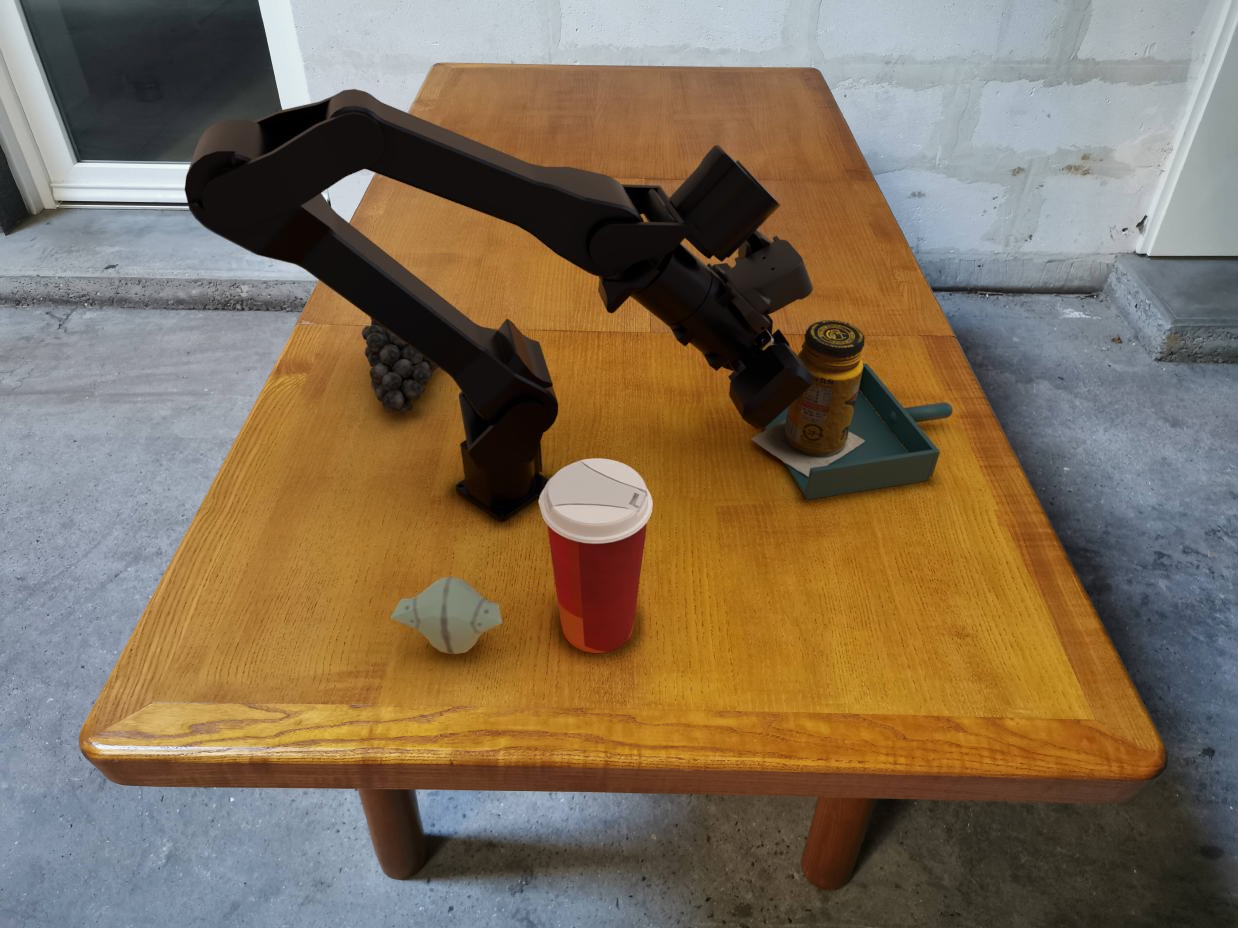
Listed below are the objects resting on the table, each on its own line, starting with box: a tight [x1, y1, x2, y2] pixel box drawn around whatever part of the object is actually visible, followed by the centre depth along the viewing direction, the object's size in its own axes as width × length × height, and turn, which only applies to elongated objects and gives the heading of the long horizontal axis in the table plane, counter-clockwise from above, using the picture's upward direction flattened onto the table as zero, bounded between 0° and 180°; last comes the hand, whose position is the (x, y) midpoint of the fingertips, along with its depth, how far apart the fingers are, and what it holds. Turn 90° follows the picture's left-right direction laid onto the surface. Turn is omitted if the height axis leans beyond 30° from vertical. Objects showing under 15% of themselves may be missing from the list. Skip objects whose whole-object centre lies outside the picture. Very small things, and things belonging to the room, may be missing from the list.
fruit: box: [361, 317, 438, 414], centre depth 90 cm, size 9×8×15 cm
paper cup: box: [538, 457, 654, 654], centre depth 64 cm, size 8×8×14 cm
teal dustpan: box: [763, 362, 954, 501], centre depth 86 cm, size 18×15×3 cm
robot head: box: [390, 576, 503, 655], centre depth 64 cm, size 8×4×7 cm, turn 87°
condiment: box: [750, 319, 866, 477], centre depth 82 cm, size 7×8×12 cm
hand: (796, 386), depth 81 cm, fingers closed, pressing on condiment
